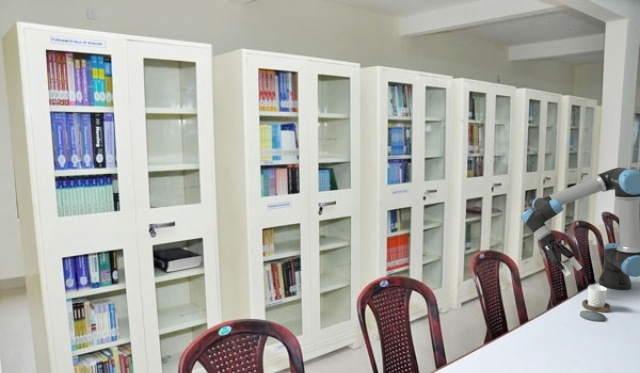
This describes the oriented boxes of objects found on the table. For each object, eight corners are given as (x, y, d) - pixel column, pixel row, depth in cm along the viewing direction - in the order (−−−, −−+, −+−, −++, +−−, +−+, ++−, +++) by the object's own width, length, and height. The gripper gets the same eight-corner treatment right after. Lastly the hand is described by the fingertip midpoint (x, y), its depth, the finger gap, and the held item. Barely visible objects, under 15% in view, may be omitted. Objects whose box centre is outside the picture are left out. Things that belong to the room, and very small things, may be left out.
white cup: (600, 304, 227) (602, 285, 226) (608, 311, 219) (610, 290, 218) (583, 304, 228) (585, 284, 226) (591, 310, 220) (592, 290, 219)
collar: (587, 301, 231) (588, 297, 231) (612, 308, 223) (613, 304, 223) (578, 307, 224) (579, 303, 224) (604, 314, 216) (604, 310, 216)
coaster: (584, 310, 220) (585, 308, 220) (608, 317, 212) (608, 315, 212) (576, 316, 213) (576, 314, 213) (600, 323, 206) (600, 321, 206)
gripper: (550, 236, 249) (578, 270, 240) (528, 244, 233) (557, 281, 224) (561, 228, 244) (590, 262, 235) (539, 235, 228) (570, 273, 219)
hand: (574, 272), depth 229 cm, fingers open, 13 cm apart
